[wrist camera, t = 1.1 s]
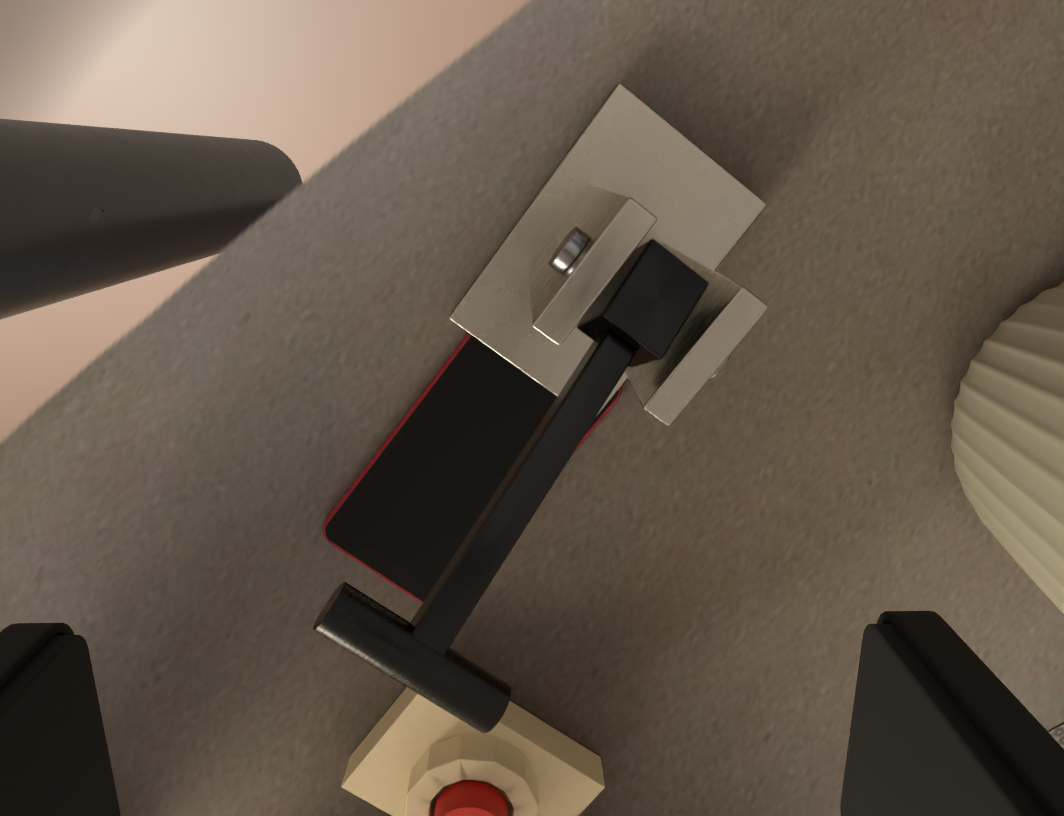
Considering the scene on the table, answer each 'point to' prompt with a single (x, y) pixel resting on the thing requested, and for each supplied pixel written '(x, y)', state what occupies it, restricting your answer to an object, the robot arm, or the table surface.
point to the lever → (518, 497)
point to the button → (471, 800)
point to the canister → (1018, 438)
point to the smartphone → (441, 468)
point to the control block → (470, 762)
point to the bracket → (618, 255)
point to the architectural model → (1058, 735)
